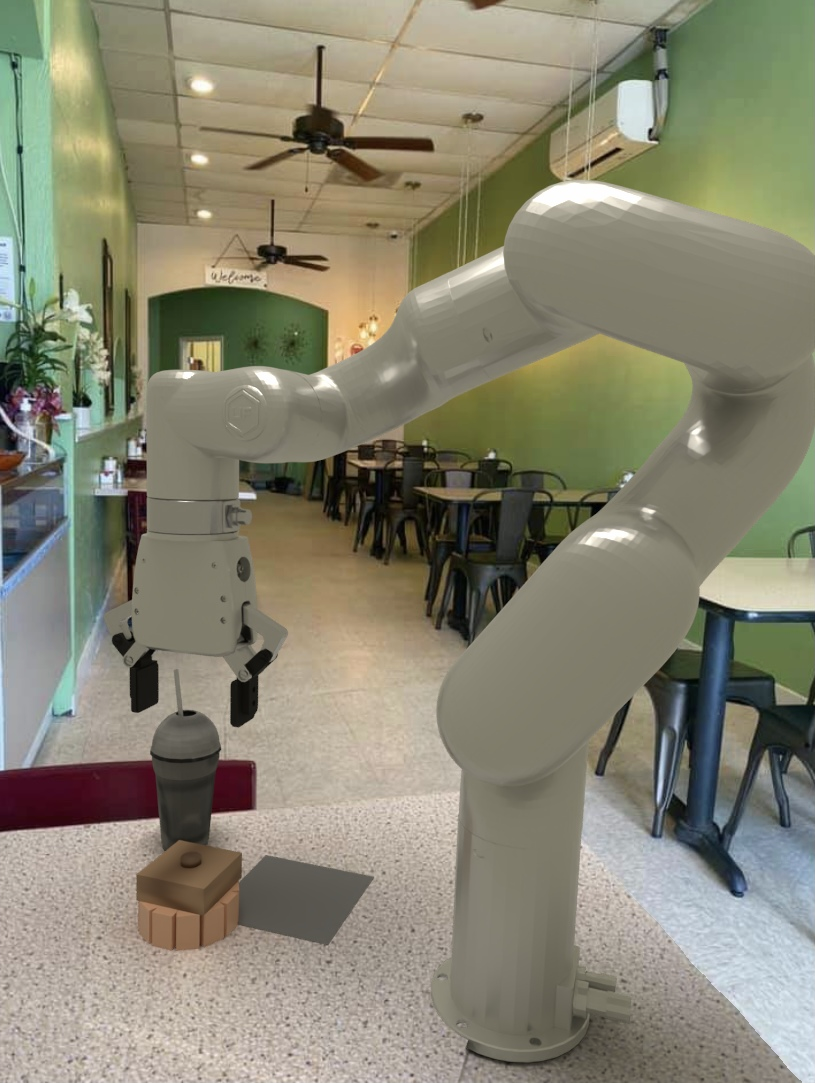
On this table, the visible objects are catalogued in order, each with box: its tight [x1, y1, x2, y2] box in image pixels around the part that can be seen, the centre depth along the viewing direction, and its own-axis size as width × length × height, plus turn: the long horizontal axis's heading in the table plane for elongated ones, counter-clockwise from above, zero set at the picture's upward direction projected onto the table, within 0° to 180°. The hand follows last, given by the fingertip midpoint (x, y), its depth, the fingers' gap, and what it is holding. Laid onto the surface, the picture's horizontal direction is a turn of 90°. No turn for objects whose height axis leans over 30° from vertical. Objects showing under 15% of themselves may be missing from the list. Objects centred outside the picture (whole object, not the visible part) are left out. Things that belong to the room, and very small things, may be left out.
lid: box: [135, 840, 243, 916], centre depth 73 cm, size 7×7×3 cm
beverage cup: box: [149, 668, 222, 852], centre depth 86 cm, size 7×7×20 cm
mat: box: [237, 854, 375, 946], centre depth 78 cm, size 12×12×1 cm
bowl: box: [137, 880, 240, 952], centre depth 73 cm, size 9×9×4 cm
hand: (193, 715), depth 71 cm, fingers open, 9 cm apart
